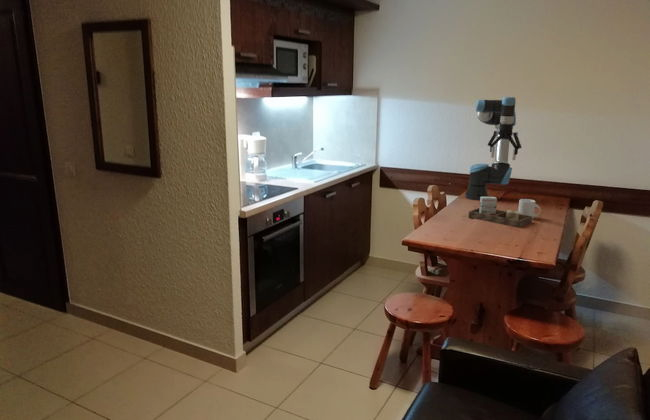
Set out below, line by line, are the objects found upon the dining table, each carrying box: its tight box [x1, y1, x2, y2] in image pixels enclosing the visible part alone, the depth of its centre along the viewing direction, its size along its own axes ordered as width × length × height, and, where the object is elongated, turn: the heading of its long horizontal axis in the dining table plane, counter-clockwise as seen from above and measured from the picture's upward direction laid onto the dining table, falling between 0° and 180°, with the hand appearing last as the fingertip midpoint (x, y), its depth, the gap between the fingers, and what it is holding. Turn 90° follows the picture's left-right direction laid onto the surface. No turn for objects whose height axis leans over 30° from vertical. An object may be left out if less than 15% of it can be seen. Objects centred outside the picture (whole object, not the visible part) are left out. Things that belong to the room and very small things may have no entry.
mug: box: [517, 198, 542, 220], centre depth 277 cm, size 9×12×11 cm
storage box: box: [468, 207, 533, 229], centre depth 274 cm, size 30×16×4 cm, turn 45°
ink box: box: [479, 196, 498, 216], centre depth 278 cm, size 9×5×12 cm, turn 85°
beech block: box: [506, 209, 519, 221], centre depth 269 cm, size 6×6×6 cm
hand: (502, 158), depth 293 cm, fingers open, 13 cm apart
